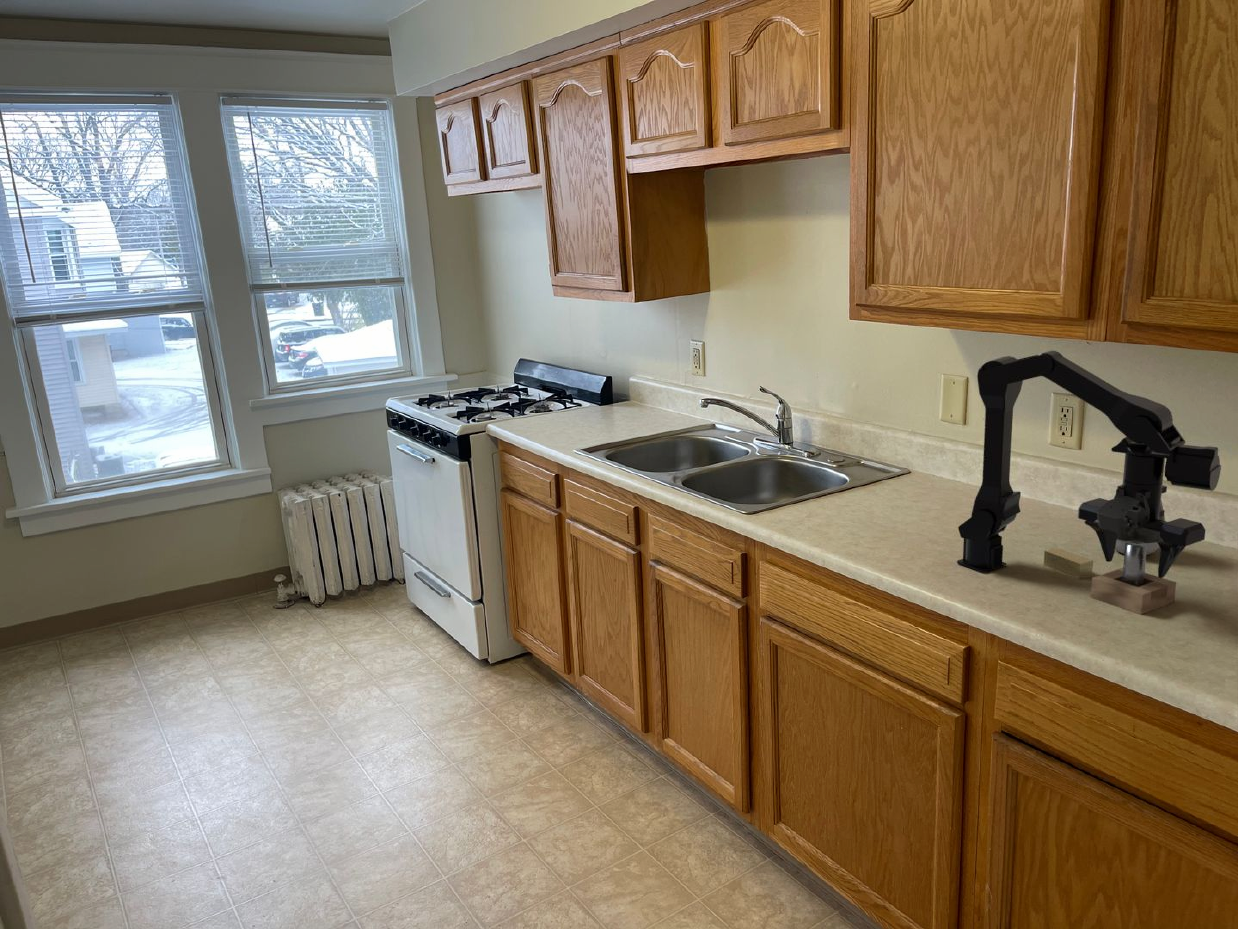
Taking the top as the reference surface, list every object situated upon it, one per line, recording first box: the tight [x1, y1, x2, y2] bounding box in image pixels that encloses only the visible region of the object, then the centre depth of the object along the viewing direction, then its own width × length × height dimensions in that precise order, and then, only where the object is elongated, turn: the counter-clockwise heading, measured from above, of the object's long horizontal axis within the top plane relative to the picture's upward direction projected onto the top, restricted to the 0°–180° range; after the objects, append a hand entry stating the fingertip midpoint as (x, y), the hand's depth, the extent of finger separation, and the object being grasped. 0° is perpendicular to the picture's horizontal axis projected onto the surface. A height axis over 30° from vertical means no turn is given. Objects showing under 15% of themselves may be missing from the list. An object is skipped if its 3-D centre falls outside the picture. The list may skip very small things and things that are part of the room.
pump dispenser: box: [1115, 483, 1166, 556], centre depth 175 cm, size 10×10×15 cm
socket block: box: [1090, 567, 1177, 615], centre depth 156 cm, size 9×9×4 cm
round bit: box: [1122, 541, 1147, 587], centre depth 155 cm, size 3×3×10 cm
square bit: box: [1043, 547, 1094, 580], centre depth 169 cm, size 8×3×3 cm, turn 23°
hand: (1134, 569), depth 155 cm, fingers open, 9 cm apart
